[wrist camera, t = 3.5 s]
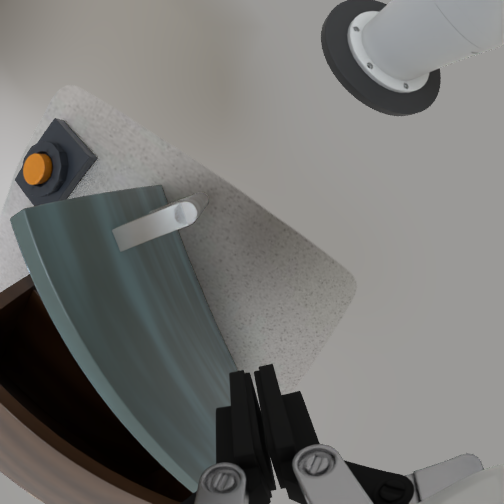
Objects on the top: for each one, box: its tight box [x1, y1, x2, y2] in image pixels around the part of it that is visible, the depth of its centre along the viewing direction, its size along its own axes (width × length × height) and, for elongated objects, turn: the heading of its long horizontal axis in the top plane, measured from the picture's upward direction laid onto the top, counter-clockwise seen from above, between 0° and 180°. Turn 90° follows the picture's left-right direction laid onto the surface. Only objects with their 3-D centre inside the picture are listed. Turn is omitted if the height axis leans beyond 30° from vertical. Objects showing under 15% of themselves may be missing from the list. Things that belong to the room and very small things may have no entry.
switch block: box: [15, 118, 97, 206], centre depth 27 cm, size 10×8×4 cm
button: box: [23, 153, 52, 185], centre depth 25 cm, size 4×4×2 cm
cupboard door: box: [10, 185, 237, 493], centre depth 23 cm, size 6×26×24 cm, turn 18°
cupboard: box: [0, 274, 193, 504], centre depth 24 cm, size 18×26×24 cm
